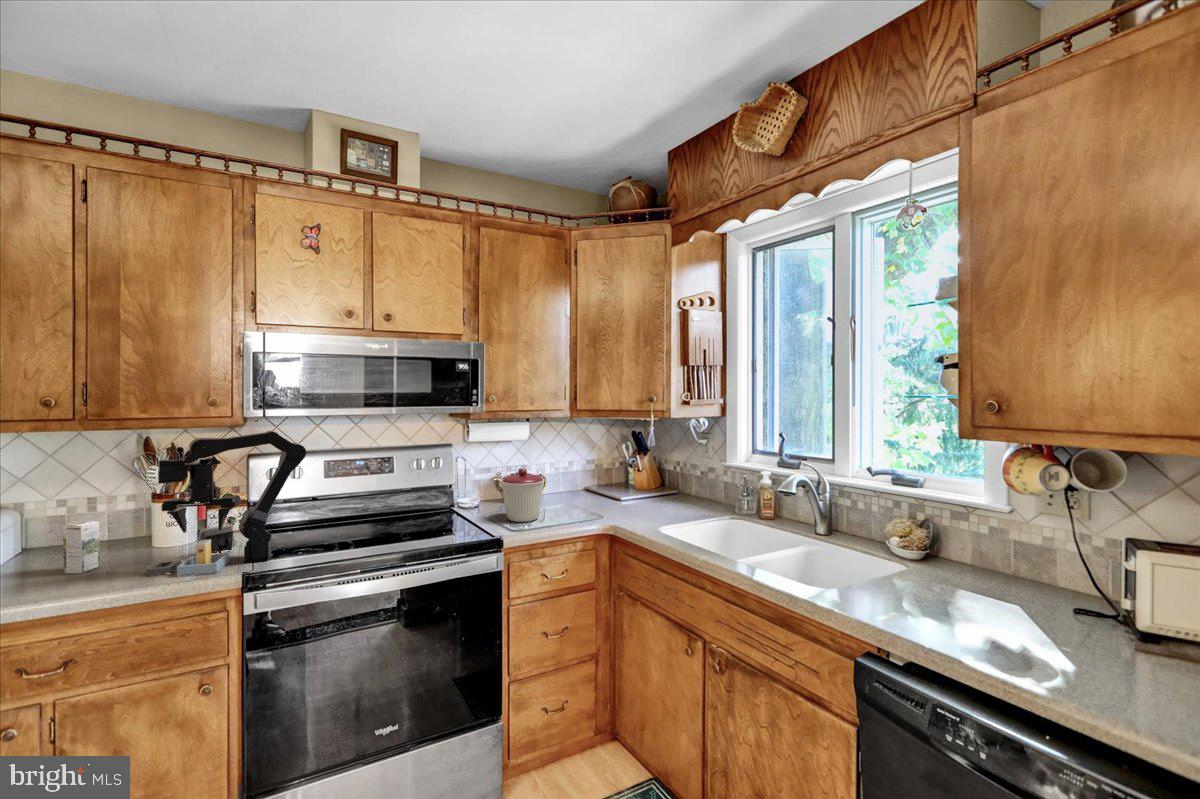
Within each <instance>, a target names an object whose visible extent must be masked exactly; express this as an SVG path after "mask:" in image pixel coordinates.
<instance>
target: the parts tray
mask: <svg viewBox="0 0 1200 799" xmlns="http://www.w3.org/2000/svg"><path fill="white" fill-rule="evenodd" d="M229 553H230V552H227V553H222V554H215V555H211V563H209V564H197V565H196V555H193V556H190V557H189V558H187V559H186V560H184V561H183V562H181V564H180V565H179V566H177V570H176V577H177V576H184V577H192V576H191V575H195V576H206V575H215V573H217V574H218V573H219V572H220V571H222V570H223V569H224V568H225V567H226V566H227V565H228V564H229V563H230V554H229ZM228 562H229V563H228ZM227 563H228V564H227ZM226 564H227V565H226ZM225 565H226V566H225ZM224 566H225V567H224ZM223 567H224V568H223ZM222 568H223V569H222ZM221 569H222V570H221Z"/></svg>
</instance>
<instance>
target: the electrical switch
mask: <svg viewBox="0 0 1200 799" xmlns="http://www.w3.org/2000/svg"><path fill="white" fill-rule="evenodd" d="M233 537H234V525H232V524H231V523H229V524H224V525H223V527H222V530H219V527H218V525H217V526H213V527H207V528H202V529H200V530H199V535H198V542H199V541H201V540H210V539H211V553H215V551H218V552H220V551H223V550H232V551H233V539H234V538H233Z"/></svg>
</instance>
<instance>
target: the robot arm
mask: <svg viewBox="0 0 1200 799" xmlns="http://www.w3.org/2000/svg"><path fill="white" fill-rule="evenodd" d="M265 445H272V446H273V447H274V448H276V449H277V450H278V451H281V453H280V457H279V460H278V464H277V468H276V469H275V471H274V473H273V475H272V477H271V478H270V480H269V482H268V483H267V485H266V487H265V488H264V490H263V492H262V493H261V495H260V497H259V499H258V501H257V502H256V504H255V506H254V507H253V508H251V510H247V509H245V510H244V511H243V514H242V517H241V518H240V519H239V520H238V521H237V522H238V530H239V533H240V534H242V536H243V537H244V538H246V539H248V540H246V541H245V546H244V547H243V554H244V556H243V558H244V563H245V564H249V563H250V564H251V563H259V562H260V563H261V562H267V561H269V560H270V559H271V558H272V557H273V556H274V554H273V553H272V534H271V533H270V532H269V531H268V530H267V529H266V528H265V526H266V523H267V520H268V516H269V511H270V509H272V508H273V505H274V503H275V502H276V499H277V497H278V496H279V494H280V492H281V490H282V489H283V487H284V486H285V483H286V482H287V481H288V478H289V477H290V475H291V473H292V472H293V471H294V470H295V469H296V468H297V467H298V466H299V465H300V464H301V462H302V461H303V460H304V459H305V458H306V456H307V450H306V448H305V447H304V446H303V445H301V444H299V443H296V442H291V441H290V440H288V439H286V438H284V437H283V436H281V435H280V434H279V433H277V432H276V431H273V430H267V431H266V432H265V431H264V432H258V433H252V434H244V435H237V436H232V437H198V438H195V439H193V440H192V441H190V443H189V445H188V450H187V452H185V453H184V455H182V457H181V459H170V460H169V459H159V461H158V470H157V480H158V483H157V484H159V485H161V484H172V483H173V484H174V483H182V482H183V481H184V480H185V479H187V478H188V473H189V485H188V490H189V494H190V495H189V496H190V498H188V500H186V499H185V497H173V498H169V499H167V500H164V501H163V502H162V504H161V506H160V507H161V512H166V514H168V515H171V516H172V518H173V519H174V521H176V523H177V525H178V526H179V528H180V530H181V531H182V533H183V534H185V533H187V531H188V530H187V529H188V528H187V517H186V516H187V515H186V512H187V508H188V507H207V506H219V507H220V508H218V516H217V517H218V518H217V520H218V521H217V522H218V523H217V524H218V525H217V526H218V527H219V530H222V527H223V525H225V522H226V519H227V517H228V515H229V513H230V511H231V510H232V509H234V508H236V507H237V506H239V505H240V504H241V502H242V500H241V496H240V495H239V494H237V495H236V494H235V495H234V494H232V495H224V496H222V497H221V493H222V491H221V490H222V488H221V487H220V486H216V481H214V465H220V464H222V462H221V461H220V460H219V459H217V458H216V457H217V456H216V455H219V454H221V453H224V452H227V451H233V450H239V449H245V448H251V447H259V446H265ZM197 461H198V462H197ZM188 468H189V472H188Z"/></svg>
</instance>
